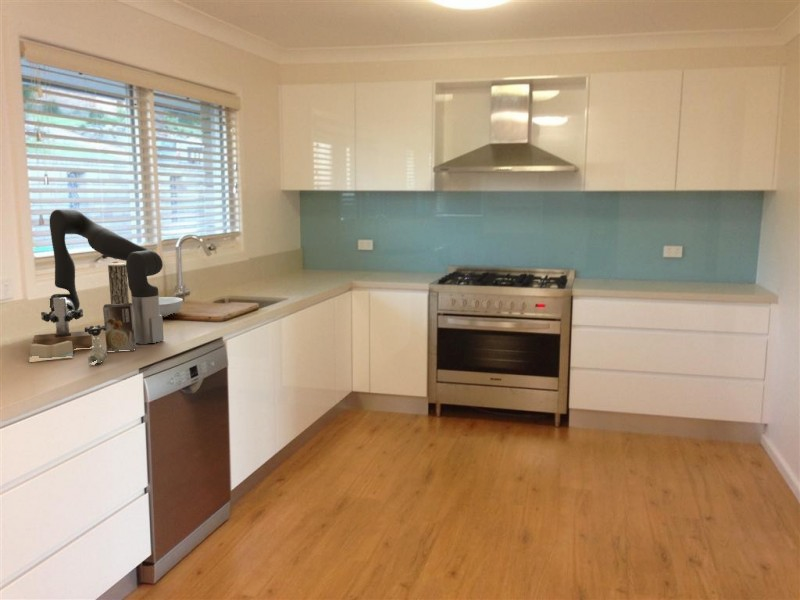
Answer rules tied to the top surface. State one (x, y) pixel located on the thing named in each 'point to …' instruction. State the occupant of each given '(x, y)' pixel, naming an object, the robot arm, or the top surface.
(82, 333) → the wooden block with hole
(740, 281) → the top surface
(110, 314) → the coffee box
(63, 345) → the v block
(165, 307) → the serving bowl
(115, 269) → the wooden log
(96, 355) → the valve
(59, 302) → the axle
